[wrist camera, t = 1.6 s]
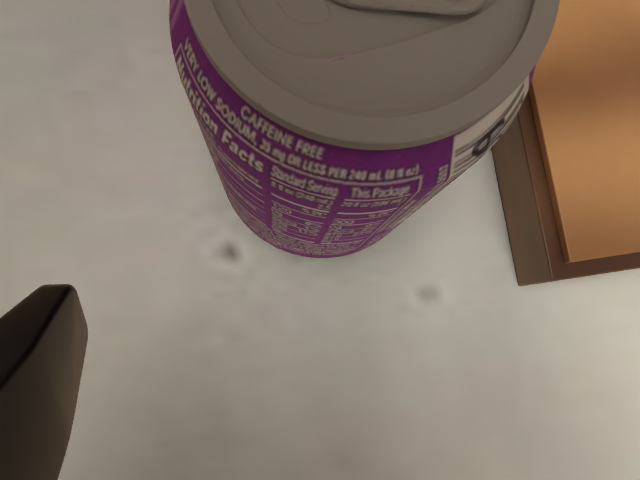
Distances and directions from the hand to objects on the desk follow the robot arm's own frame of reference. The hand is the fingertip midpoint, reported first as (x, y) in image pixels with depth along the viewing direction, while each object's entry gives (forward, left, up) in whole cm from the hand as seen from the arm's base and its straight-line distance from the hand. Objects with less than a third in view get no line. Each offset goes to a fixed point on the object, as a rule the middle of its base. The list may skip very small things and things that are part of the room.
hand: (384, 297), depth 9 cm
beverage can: (+5, -1, -12) cm, 13 cm away
